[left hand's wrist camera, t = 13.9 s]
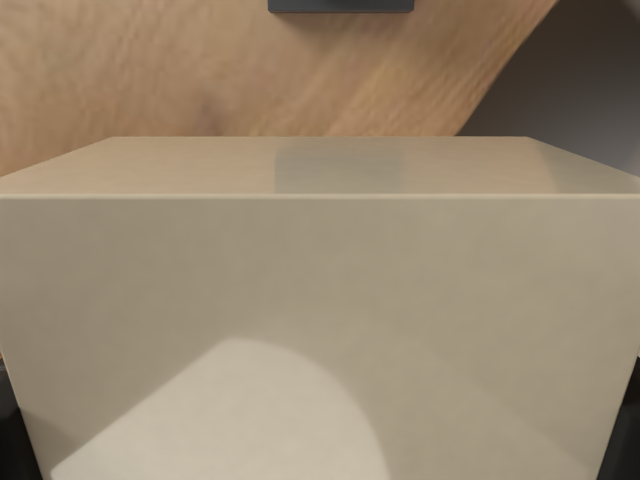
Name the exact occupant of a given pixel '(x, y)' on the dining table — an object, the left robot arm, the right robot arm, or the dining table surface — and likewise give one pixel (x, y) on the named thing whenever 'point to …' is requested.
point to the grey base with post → (340, 6)
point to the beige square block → (319, 308)
